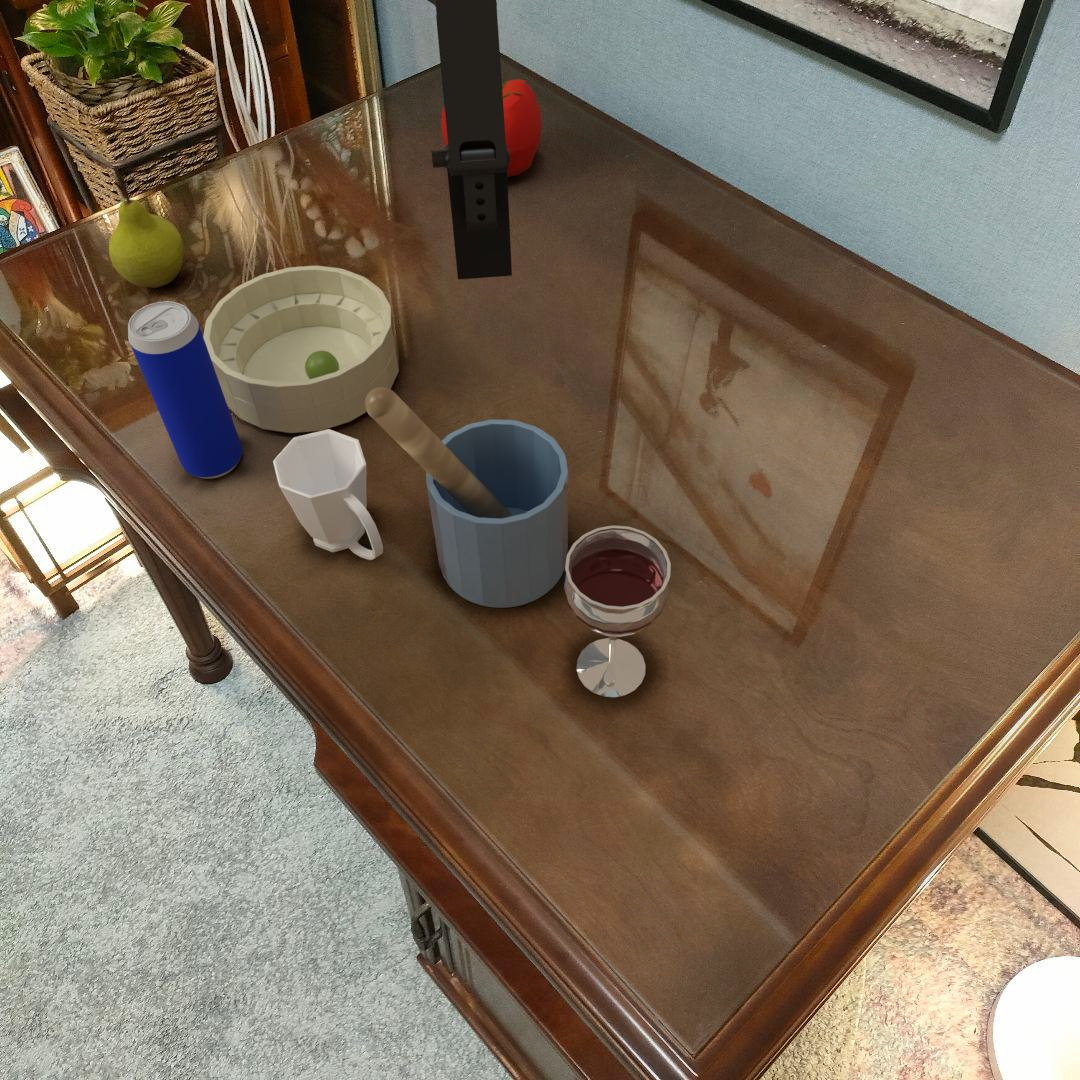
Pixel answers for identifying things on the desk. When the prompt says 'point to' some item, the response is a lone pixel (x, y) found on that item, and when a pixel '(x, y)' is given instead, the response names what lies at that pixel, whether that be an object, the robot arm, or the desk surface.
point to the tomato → (517, 125)
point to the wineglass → (615, 602)
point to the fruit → (145, 246)
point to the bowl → (301, 347)
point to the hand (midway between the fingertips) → (476, 197)
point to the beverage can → (185, 388)
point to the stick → (432, 454)
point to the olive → (320, 364)
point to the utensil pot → (513, 542)
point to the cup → (329, 490)
